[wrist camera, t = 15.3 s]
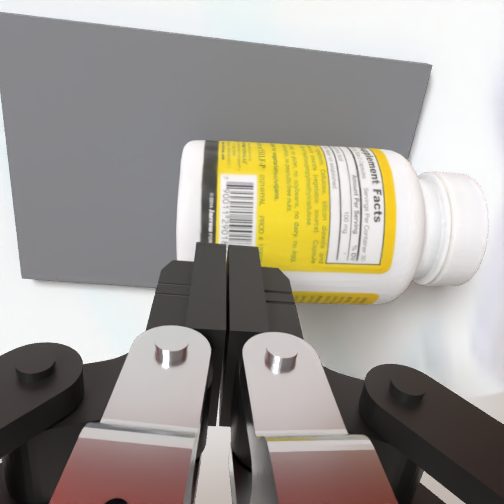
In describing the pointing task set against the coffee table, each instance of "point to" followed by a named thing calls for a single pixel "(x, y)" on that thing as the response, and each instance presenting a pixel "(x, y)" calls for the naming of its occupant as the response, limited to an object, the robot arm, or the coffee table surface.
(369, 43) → the coffee table surface
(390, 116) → the rubber mat
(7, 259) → the coffee table surface
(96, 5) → the coffee table surface
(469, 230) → the supplement bottle
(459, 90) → the coffee table surface
